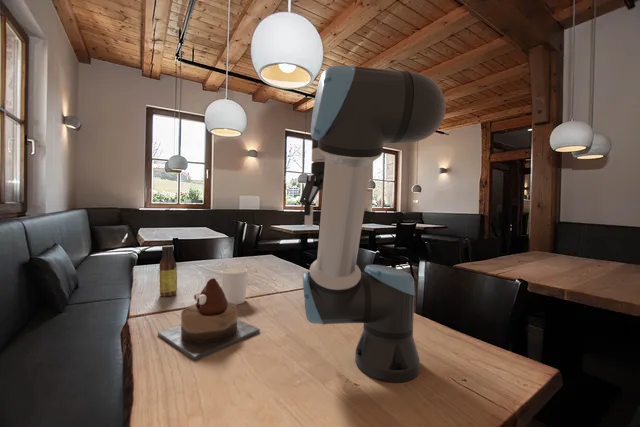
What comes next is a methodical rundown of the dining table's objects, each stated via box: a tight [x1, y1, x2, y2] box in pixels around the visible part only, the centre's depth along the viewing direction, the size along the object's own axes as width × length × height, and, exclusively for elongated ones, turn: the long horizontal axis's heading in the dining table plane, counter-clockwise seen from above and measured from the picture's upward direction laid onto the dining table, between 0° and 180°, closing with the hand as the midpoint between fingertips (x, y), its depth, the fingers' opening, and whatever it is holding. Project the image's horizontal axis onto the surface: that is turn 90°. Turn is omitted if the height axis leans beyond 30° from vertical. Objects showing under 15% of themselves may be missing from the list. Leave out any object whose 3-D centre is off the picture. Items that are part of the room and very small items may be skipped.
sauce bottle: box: [158, 245, 178, 298], centre depth 115 cm, size 7×6×20 cm
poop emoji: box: [193, 277, 228, 315], centre depth 82 cm, size 10×8×9 cm
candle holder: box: [220, 267, 249, 306], centre depth 109 cm, size 10×10×12 cm
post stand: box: [157, 302, 261, 361], centre depth 82 cm, size 20×20×7 cm
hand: (320, 225), depth 97 cm, fingers open, 13 cm apart
